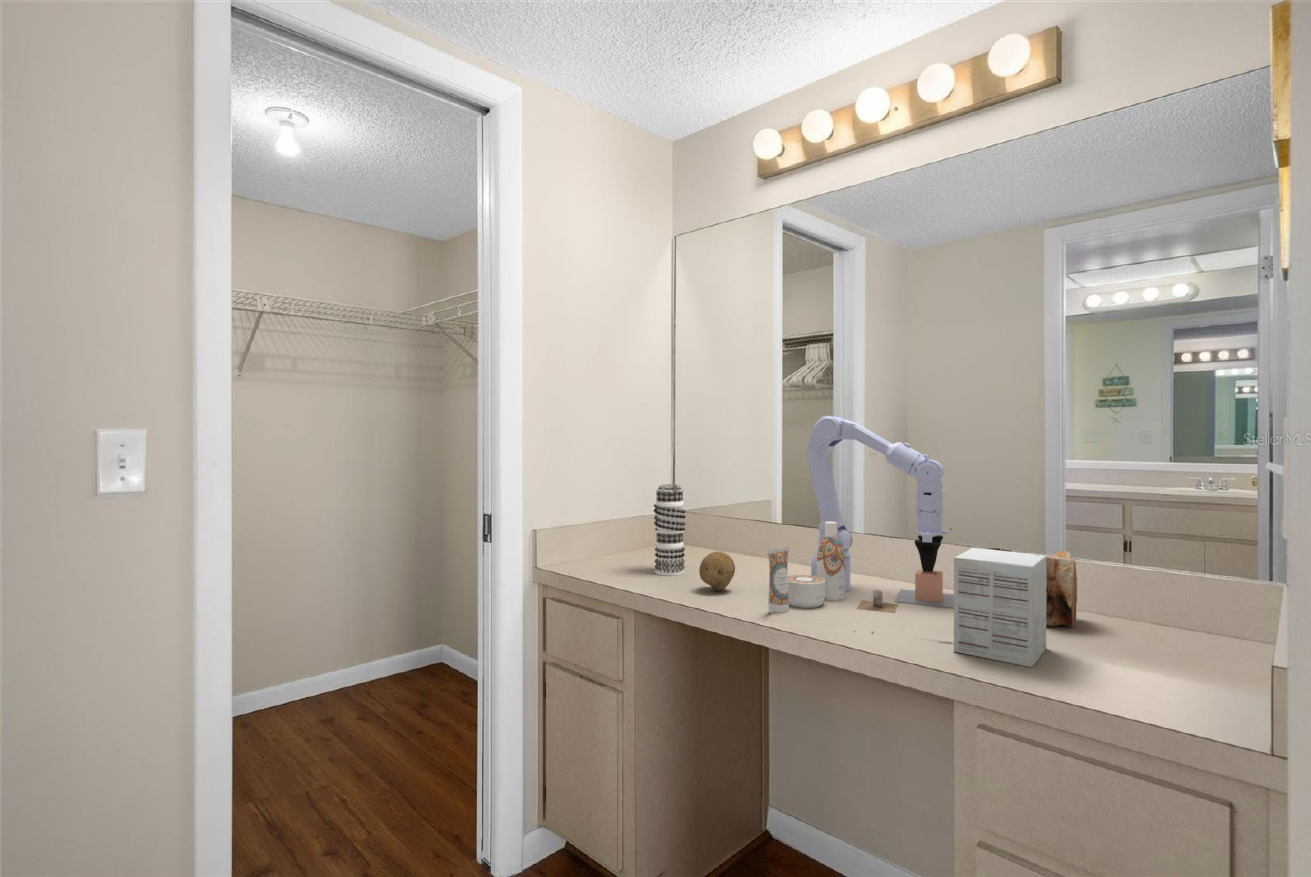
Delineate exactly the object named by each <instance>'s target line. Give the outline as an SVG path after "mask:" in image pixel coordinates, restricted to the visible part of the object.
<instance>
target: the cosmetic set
mask: <svg viewBox="0 0 1311 877" xmlns="http://www.w3.org/2000/svg"><path fill="white" fill-rule="evenodd" d="M789 548H790V547H789V546H786V547H780V548H774V549H769V550H767V555H768V562H769V564H768V565H769V577H768V580H769V581H768V602H767V603H768V606H767V608H768V613H770V614H773V613H777V614H778V613H779V614H780V613H781V614H782V613H787V612H789V610H790V609H789V608H790V606H792V607H795V608H803V609H804V608H805V609H808V608H809V609H810V608H811V609H813V608H818V607H820V606H822V605H823V604H824V601H836V602H837V601H843V600H845V598H846V591H845V552H844V548H843V546H842V544H841V542H840V541H839V539H838V538H837V523H836V522H825V537H824V538H823V540H822V541H821V543H820V545H818V546H817V551H816V554H817V576H811V575H809V574H791V575H789V574H788V573H789V572H788V571H789V570H788V563H789V562H788V560H789V558H788V557H789V551H790V549H789Z"/></svg>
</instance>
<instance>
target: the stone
mask: <svg viewBox="0 0 1311 877" xmlns="http://www.w3.org/2000/svg"><path fill="white" fill-rule="evenodd" d="M1045 556H1046V568H1047V581H1046V627H1050V628H1051V627H1052V628H1055V627H1059V626H1063V625H1064V626H1066V627H1074V625H1075V624H1076V620H1077V603H1078V577H1077V568H1076V566H1077V565H1076V561H1075V559H1074V558H1073V557H1072V554H1071V553H1070V552H1069V551H1067V550H1060V551H1057V553H1054V555H1045Z"/></svg>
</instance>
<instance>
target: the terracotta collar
mask: <svg viewBox="0 0 1311 877" xmlns="http://www.w3.org/2000/svg"><path fill="white" fill-rule="evenodd" d="M914 576H915V577H914V578H915V580H914V583H915V584H914V587H915V589H914V590H915V600H924V601H934V602H941V601H942V597H943V592H944V591H943V590H944V589H943V587H944V586H943V584H944V582H943V580H944V577H943V576H944V571H939V570H933V572H923V570H922V569H917V570H916V571H915V575H914Z"/></svg>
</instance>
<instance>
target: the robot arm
mask: <svg viewBox="0 0 1311 877" xmlns="http://www.w3.org/2000/svg"><path fill="white" fill-rule="evenodd" d="M844 440H848V441H849V440H853V441H857V442H859V443H861V444H863V445H865V446H867V447H869V448H871V449H873V450H875V451H876V452H878V453H880V454H882V455H884V457H885V459H886V462H887V464H889V465H891V466H893V467H895V468H897V469H898V470H900V471H902V472H904V473H906V474H907V475H909V476H914V478H915V480H916V483H917V484H916V485H917V487H916V489H917V490H916V503H915V505H916V508H915V510H916V512H915V513H916V514H915V517H916V518H915V523H916V524H915V528H914V530H915V533H916V534H917V535H918V536H917V538H918V539H915V540H914V545H915V548H916V549H917V551H918V555H919V559H920V564H921V570H923V572H933V571H934V569H935V566H936V562H937V557H938V551H939V549H940V547H941V546H942V541H943V539H944V536H943V535H948V533H949V531H948V530H949V529H943V517H944V516H943V514H944V513H943V511H944V510H943V507H944V506H943V505H944V504H943V503H944V502H943V501H944V499H943V497H944V496H943V494H944V492H943V481H942V479H943V478H944V475H945V467H944V466H943V464H942V463H941V462H939V461H938V460H937V459H936V458H929V455H928V454H926V453H924V454H922V453H921V452H919V451H917V450H916V449H913V448H912V447H911V444H909V443H908V442H904V443H903V442H901V441H898V442H895V443H892V442H890V441H888V440H886V439H885V438H883V437H881V436H879V435H877V434H876V433H875V432H873V431H871V430H869V429H868V428H866V427H864V426H862V425H861V424H859V423H856V422H854V421H852V420H849V419H846V418H844V417H842V416H839V415H838V416H837V415H836V416H832V415H824V416H821V417H820V418H819V419H818V420H817V421H816V423H815V424H813V425H812V427H811V434H810V438H809V442H808V444H807V447H806V457H807V462H808V466H809V471H810V475H811V480H812V485H813V490H814V494H815V499H816V504H817V509H818V513H819V519H820V520H819V526H818V530H819V531H818V532H819V538H818V541H817V542H818V543H817V544H818V546H819V545H820V543H821V541H822V540H823V538H824V537H825V522H836V523H837V538H838V539H839V541H840V542H841V544H842V546H843V548H844V552H845V592H847V591H850V590H851V553H850V551H849V549H850V548H851V547H852V545H853V542H854V541H853V539H854V538H853V534H852V533H851V531H850V530H849V529H848V527H847V525H846V521H845V519H844V518H843V517H842V513H841V508H840V504H839V500H838V495H837V490H836V486H835V481H834V478H833V477H834V476H833V473H832V468H831V463H830V458H829V455H830V453H831V452H832V450H833V449H834V448H835V446H836V445H838V444H839V443H840V442H841V441H844ZM810 568H811V569H810V571H811V572H810V573H811V576H817V553H816V554H813V556H812V557H811V564H810Z"/></svg>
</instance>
